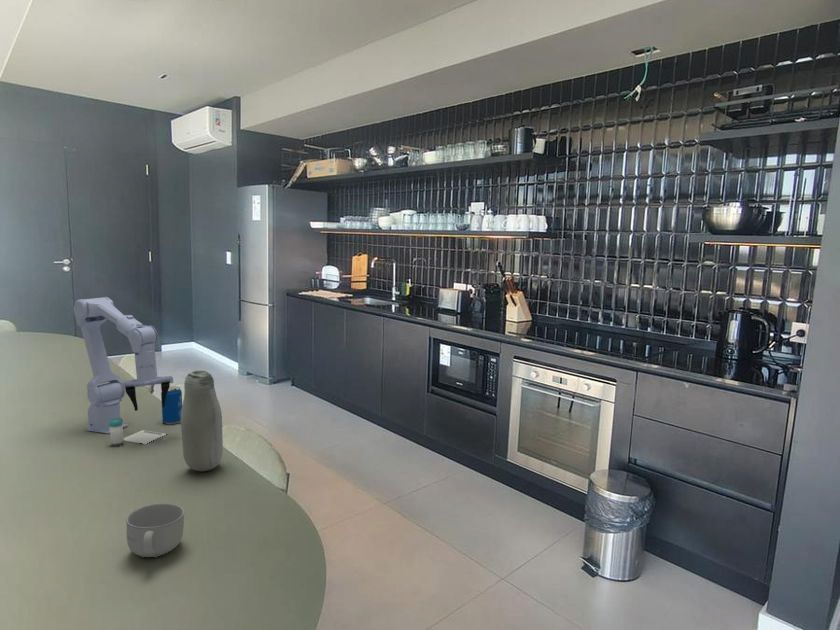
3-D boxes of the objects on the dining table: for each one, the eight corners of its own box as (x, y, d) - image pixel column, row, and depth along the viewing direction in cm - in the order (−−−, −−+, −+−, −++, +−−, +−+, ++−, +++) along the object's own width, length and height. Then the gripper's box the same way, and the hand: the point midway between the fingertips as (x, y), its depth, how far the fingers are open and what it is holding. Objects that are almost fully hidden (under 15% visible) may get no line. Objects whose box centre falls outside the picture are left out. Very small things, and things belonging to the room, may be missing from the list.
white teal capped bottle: (107, 446, 166) (105, 421, 165) (117, 441, 170) (115, 417, 169) (117, 447, 165) (115, 422, 164) (126, 443, 169) (125, 418, 168)
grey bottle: (230, 464, 154) (226, 368, 150) (205, 479, 145) (200, 377, 141) (202, 459, 157) (197, 365, 153) (176, 473, 148) (170, 374, 144)
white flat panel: (120, 440, 171) (120, 439, 171) (142, 431, 179) (142, 429, 179) (145, 444, 168) (145, 443, 168) (167, 434, 176) (167, 433, 176)
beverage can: (175, 425, 185) (173, 391, 183) (158, 424, 186) (156, 390, 184) (187, 419, 191) (185, 386, 189) (170, 418, 192) (168, 385, 191)
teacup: (141, 536, 117) (139, 501, 116) (193, 534, 118) (191, 500, 117) (110, 576, 103) (107, 537, 102) (169, 573, 104) (167, 535, 103)
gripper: (118, 370, 161) (123, 414, 163) (171, 365, 167) (175, 407, 169) (120, 366, 168) (124, 409, 169) (171, 361, 174) (175, 402, 175)
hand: (150, 408), depth 169 cm, fingers open, 7 cm apart
